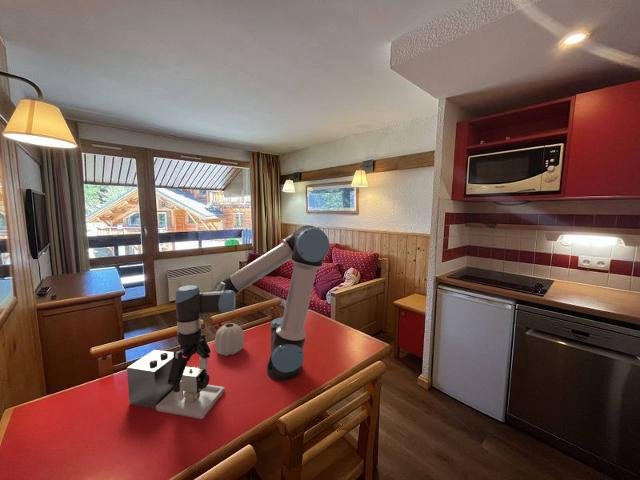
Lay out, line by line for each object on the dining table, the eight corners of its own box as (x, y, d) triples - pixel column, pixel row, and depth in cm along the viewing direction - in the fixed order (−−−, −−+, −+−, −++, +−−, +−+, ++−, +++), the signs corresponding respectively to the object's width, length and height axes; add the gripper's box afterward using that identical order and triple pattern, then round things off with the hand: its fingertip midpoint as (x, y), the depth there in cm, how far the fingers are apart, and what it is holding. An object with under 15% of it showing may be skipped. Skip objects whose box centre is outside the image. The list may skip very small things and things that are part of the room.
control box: (180, 386, 104) (178, 350, 102) (156, 409, 92) (154, 368, 91) (155, 382, 106) (152, 347, 104) (128, 404, 94) (125, 364, 93)
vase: (248, 353, 129) (248, 327, 127) (218, 362, 121) (217, 334, 119) (239, 341, 140) (239, 317, 139) (211, 348, 132) (211, 323, 131)
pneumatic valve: (202, 406, 93) (201, 374, 92) (173, 401, 95) (171, 370, 94) (211, 395, 99) (210, 365, 97) (183, 391, 101) (182, 361, 99)
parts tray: (224, 391, 102) (224, 386, 102) (202, 419, 88) (202, 413, 88) (183, 385, 105) (183, 380, 105) (156, 411, 92) (156, 405, 91)
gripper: (201, 315, 106) (203, 364, 109) (151, 346, 82) (156, 409, 84) (218, 316, 105) (220, 366, 108) (173, 349, 81) (177, 413, 83)
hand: (192, 385), depth 96 cm, fingers open, 13 cm apart
